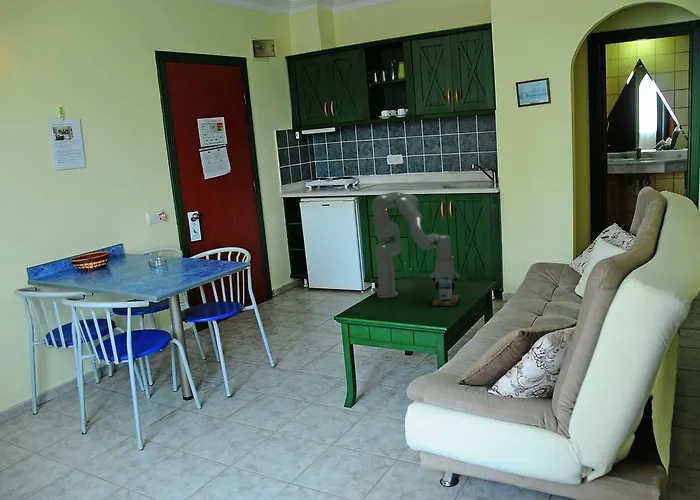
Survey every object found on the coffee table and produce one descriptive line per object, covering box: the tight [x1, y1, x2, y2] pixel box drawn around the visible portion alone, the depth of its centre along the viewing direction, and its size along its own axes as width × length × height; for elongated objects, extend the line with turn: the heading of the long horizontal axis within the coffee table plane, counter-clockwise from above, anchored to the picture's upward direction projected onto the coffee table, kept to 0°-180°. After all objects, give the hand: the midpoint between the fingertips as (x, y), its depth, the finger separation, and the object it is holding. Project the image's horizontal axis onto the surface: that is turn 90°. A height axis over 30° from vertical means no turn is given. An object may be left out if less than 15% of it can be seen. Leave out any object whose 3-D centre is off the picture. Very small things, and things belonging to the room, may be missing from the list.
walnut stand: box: [431, 294, 460, 308], centre depth 333 cm, size 12×15×2 cm
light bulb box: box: [438, 279, 453, 300], centre depth 331 cm, size 11×7×11 cm, turn 174°
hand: (445, 289), depth 331 cm, fingers closed on light bulb box, 7 cm apart
